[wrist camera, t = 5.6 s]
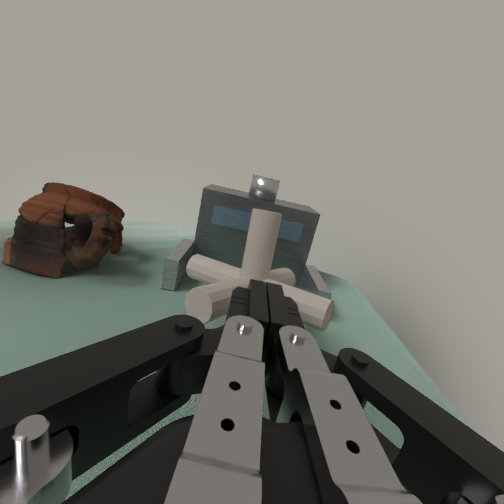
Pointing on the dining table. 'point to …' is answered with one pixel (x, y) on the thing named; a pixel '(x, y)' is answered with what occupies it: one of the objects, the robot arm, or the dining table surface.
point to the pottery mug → (63, 231)
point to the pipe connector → (250, 277)
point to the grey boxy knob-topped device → (236, 231)
